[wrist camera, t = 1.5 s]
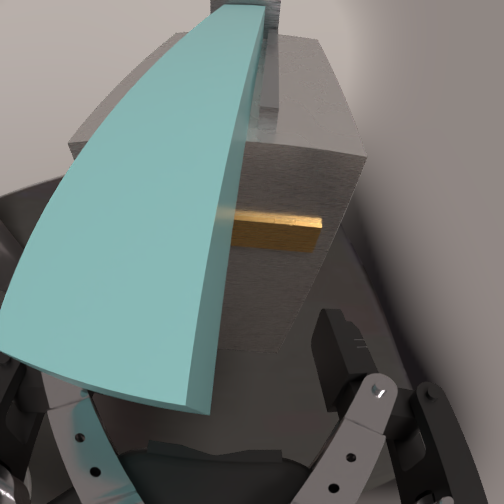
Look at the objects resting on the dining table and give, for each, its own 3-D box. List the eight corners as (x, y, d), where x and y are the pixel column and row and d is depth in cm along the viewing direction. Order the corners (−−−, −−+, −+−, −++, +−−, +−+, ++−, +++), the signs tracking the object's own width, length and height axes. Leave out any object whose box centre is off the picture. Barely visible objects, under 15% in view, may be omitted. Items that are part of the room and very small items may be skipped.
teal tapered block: (209, 415, 6) (185, 405, 3) (78, 386, 6) (-10, 345, 3) (262, 40, 21) (265, 6, 18) (223, 38, 21) (223, 4, 18)
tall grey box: (276, 355, 38) (397, 80, 8) (173, 345, 38) (40, 77, 8) (280, 234, 49) (323, 5, 19) (197, 226, 49) (174, -1, 19)
